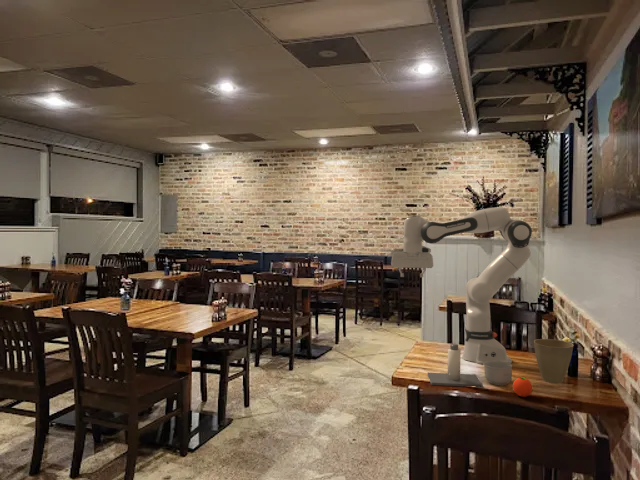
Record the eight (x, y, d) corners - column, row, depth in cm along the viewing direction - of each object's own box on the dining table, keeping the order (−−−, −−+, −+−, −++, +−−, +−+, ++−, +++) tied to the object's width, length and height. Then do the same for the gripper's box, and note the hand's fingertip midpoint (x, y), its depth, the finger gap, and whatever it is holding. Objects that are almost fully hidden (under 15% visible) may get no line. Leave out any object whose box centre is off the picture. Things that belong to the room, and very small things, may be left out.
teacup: (508, 389, 193) (509, 369, 193) (480, 384, 199) (481, 364, 198) (515, 380, 205) (516, 361, 204) (488, 375, 210) (489, 357, 210)
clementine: (515, 391, 190) (515, 373, 190) (534, 394, 187) (535, 376, 186) (510, 396, 184) (510, 378, 184) (530, 400, 180) (530, 381, 180)
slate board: (475, 376, 208) (475, 374, 208) (482, 387, 195) (482, 384, 194) (427, 374, 211) (427, 372, 211) (431, 385, 197) (431, 382, 197)
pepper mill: (459, 376, 205) (459, 343, 205) (461, 380, 200) (461, 346, 200) (446, 376, 205) (447, 343, 205) (448, 379, 200) (449, 345, 200)
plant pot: (526, 375, 211) (527, 338, 211) (559, 375, 212) (560, 338, 212) (544, 386, 196) (545, 347, 196) (580, 386, 197) (581, 347, 197)
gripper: (391, 248, 238) (390, 277, 238) (434, 249, 236) (433, 278, 236) (390, 248, 244) (390, 275, 244) (432, 248, 242) (432, 276, 242)
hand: (411, 277), depth 240 cm, fingers open, 8 cm apart
